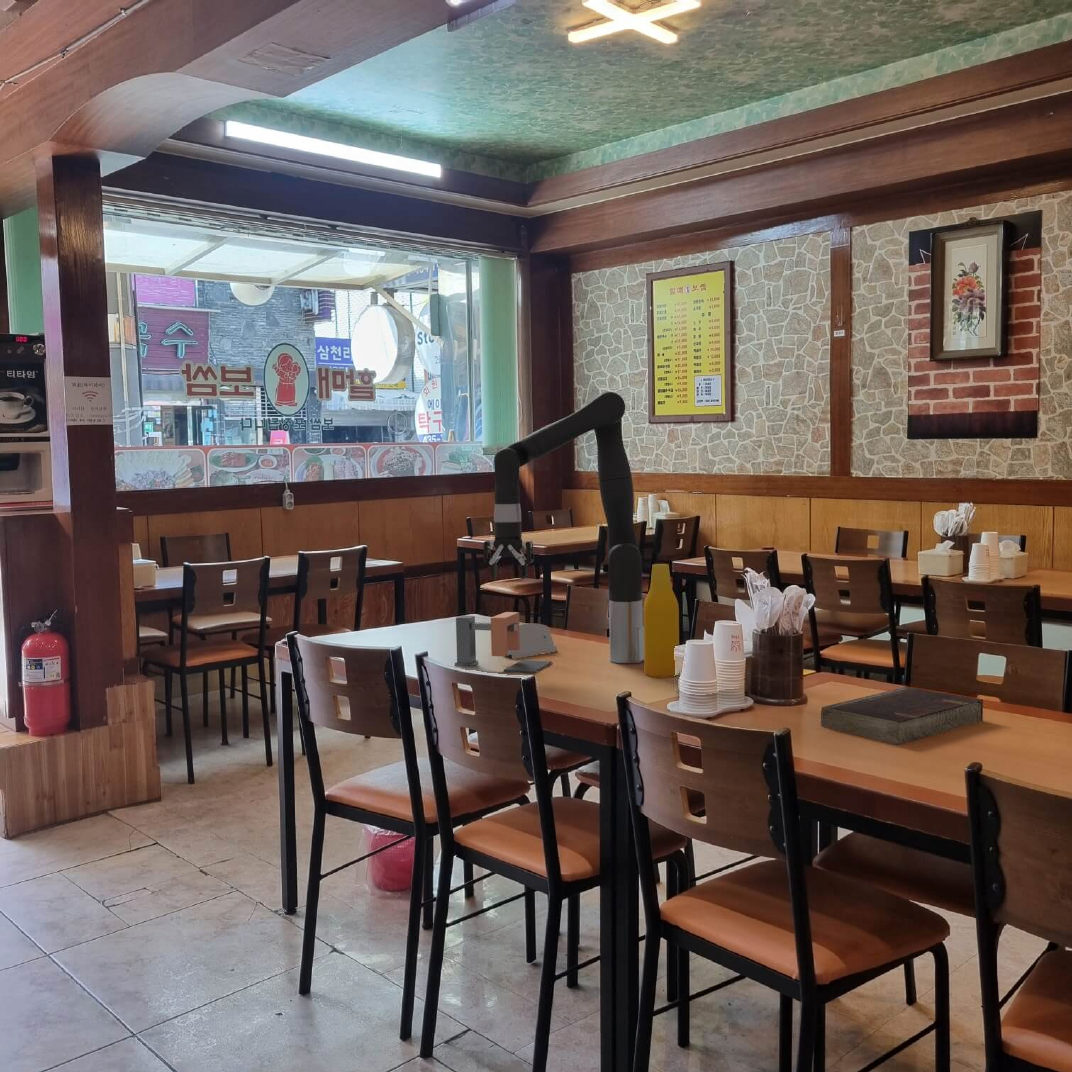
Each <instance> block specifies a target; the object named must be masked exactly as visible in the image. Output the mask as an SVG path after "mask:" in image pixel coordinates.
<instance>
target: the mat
mask: <svg viewBox="0 0 1072 1072" xmlns="http://www.w3.org/2000/svg"><path fill="white" fill-rule="evenodd" d="M551 663H552V664H553V661H548V660H531V659H529V660H528V659H527V660H526V659H522V660H520V661H517V662H516V663H514V664H512V665H510V666H507V667H506V668H504V669H503V673H515V674H520V673H521V674H532V673H534V674H537V673H538V672H540V671H542V670H543V669H542V668H544V667H545V668H547V667H549V666H550V664H551ZM552 664H551V665H552ZM548 665H549V666H548ZM546 666H547V667H546ZM545 668H544V669H545ZM541 669H542V670H541ZM539 670H540V671H539ZM537 671H538V672H537Z"/></svg>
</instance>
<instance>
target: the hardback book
mask: <svg viewBox="0 0 1072 1072" xmlns="http://www.w3.org/2000/svg"><path fill="white" fill-rule="evenodd" d="M983 709H984V701H983V698H982V699H981V698H975V697H974V698H973V697H970V696H969V697H968V696H962V695H956V694H951V693H945V692H938V691H934V690H933V691H932V690H928V689H927V690H926V689H920V688H914V687H910V686H909V687H908V686H905V687H900V688H895V689H892V690H888V691H885V692H879V693H876V694H871V695H867V696H863V697H859V698H856V699H854V698H853V699H850V700H847V701H843V702H837V703H834V704H828V705H825V706H822V707H821V711H820V726H821V727H822V728H825V729H826V728H827V729H830V730H835V731H840V732H843V733H847V734H851V735H854V736H859V737H863V738H868V739H872V740H876V741H881V742H884V743H890V744H893V745H897V746H899V745H903V744H906V743H911V742H914V741H918V740H920V739H924V738H927V737H930V736H931V737H932V736H935V735H939V734H942V733H946V732H949V731H951V730H956V729H959V728H962V727H963V728H964V727H965V726H969V725H973V724H976V723H980V722H982V721H983V719H984V718H983V717H984V716H983V715H984V713H983V711H984V710H983Z"/></svg>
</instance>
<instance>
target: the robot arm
mask: <svg viewBox="0 0 1072 1072" xmlns="http://www.w3.org/2000/svg"><path fill="white" fill-rule="evenodd" d="M625 412H626V403H625V400H624V399H623V397H622V396H621V395H620V394H618V393H617V392H615V391H604V392H603V391H602V392H601V393H599V394H597V395H596V396H595V397H594V398H593V399H592V401H590V402H588V404H586V405H585V406H584V407H582V408H580V409H579V410H577V411H575V412H573V413H571V414H570V415H568V416H566V417H564V418H562V419H559V420H556V421H554V422H553V423H549V424H547V425H545V426H543V427H541V428H540V429H538V430H535V431H534V432H532V433H530V434H528V435H527V436H525V437H523V438H522V439H521V440H520V439H519V441H516V442H514V443H512V444H510V445H508V446H505V447H503V448H501V449H499V450H498V451H496V453H495V454H494V456H493V457H494V458H493V466H494V481H495V485H494V508H493V509H494V510H493V524H494V525H493V526H494V541H491V540H485V541H484V542H483V560H482V561H483V562H484V563H487V564H489V570H490V573H489V574H490V577H491V579H497V578H498V564H497V563H498V561H499V560H500V559H501V558H503V557H505V558H506V557H509V558H513V557H515V559H516V560H518V562H519V563H520V579H521V580H525V579H526V578H527V576H528V574H529V573H528V569H529V568H528V565H529V564H531V563H533V562H535V554H534V543H533V541H532V540H529V541H523V539H522V538H523V537H522V510H521V509H522V508H521V489H520V485H519V484H520V469H521V467H523V466H525V465H527V464H529V463H530V462H532V461H535V460H538V459H541V458H542V457H545V456H546V455H548V454H550V453H553V452H554V451H556V450H557V449H560V448H561V447H563V446H565V445H566V444H568V443H569V442H571V441H573V440H575V439H576V438H578V437H580V436H582V435H584V434H585V433H588V432H590V431H593V430H594V434H595V439H596V446H597V449H596V450H597V454H596V455H597V472H598V473H597V474H598V484H599V493H600V498H601V504H602V508H603V512H604V515H605V520H606V524H607V529H608V530H607V532H608V533H607V535H608V556H607V557H608V560H607V564H608V565H607V566H608V567H607V569H608V607H609V608H608V609H609V610H608V611H609V612H608V616H609V617H608V618H609V621H608V623H609V626H608V627H609V661H610V662H612V663H617V664H636V663H637V664H640V663H642V662H644V625H643V559H642V553H641V552H640V549H639V546H638V542H637V536H636V532H635V531H636V530H635V527H634V526H635V524H634V512H635V511H634V508H635V505H634V504H635V499H634V496H635V495H634V483H633V477H632V470H631V467H630V462H629V459H628V455H627V452H626V448H625V444H624V442H623V429H622V428H623V427H622V426H623V425H622V418H623V417H624V415H625ZM493 547H494V548H495V550H496V551H495V552H494V554H493V555H492V554H491V553H492V549H493ZM523 547H524V549H525V552H526V553H525V554H526V555H525V554H524V553H523V552H522V550H521V549H522V548H523ZM491 555H492V557H491Z"/></svg>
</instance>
